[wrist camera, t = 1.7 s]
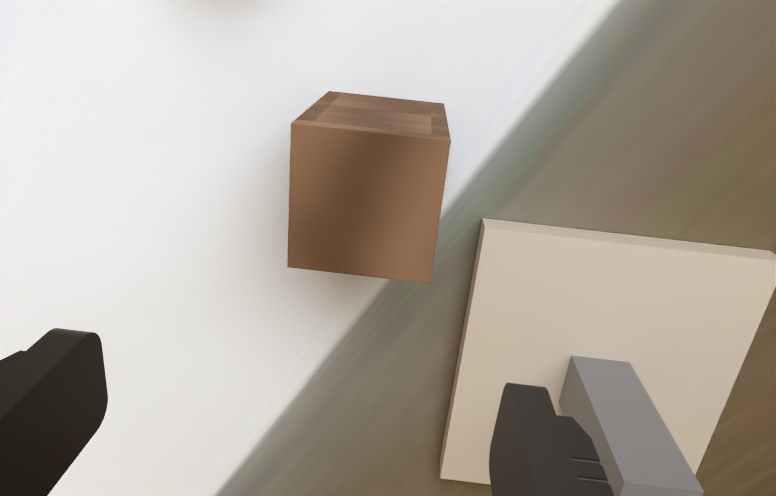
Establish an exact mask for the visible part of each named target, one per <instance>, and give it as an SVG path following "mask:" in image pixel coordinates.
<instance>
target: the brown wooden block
mask: <svg viewBox="0 0 776 496" xmlns="http://www.w3.org/2000/svg"><path fill="white" fill-rule="evenodd" d="M450 142H451V140H450V135H449V129H448V124H447V119H446V113H445V108H444V104H441V103H432V102H423V101H414V100H404V99H395V98H386V97H377V96H368V95H359V94H349V93H340V92H331V91H329V92H328V93H326V94H325V95H324V96H323V97H322V98H320V99H319V100H318V101H317V102H316V103H315V104H313V105H312V106H311V107H310V108H309V109H308V110H306V111H305V112H304V113H303V114H302V115H300V116H299V117H298V118H297V119H296V120H295V121H293V122H292V123H291V152H290V190H289V229H288V267H291V268H300V269H309V270H318V271H326V272H335V273H344V274H352V275H361V276H370V277H378V278H387V279H396V280H404V281H413V282H422V283H430V282H431V275H432V268H433V261H434V254H435V247H436V240H437V233H438V226H439V219H440V212H441V205H442V198H443V191H444V184H445V177H446V170H447V163H448V156H449V149H450Z"/></svg>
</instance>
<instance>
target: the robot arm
mask: <svg viewBox="0 0 776 496" xmlns="http://www.w3.org/2000/svg"><path fill="white" fill-rule="evenodd" d="M107 402H108V395H107V386H106V378H105V370H104V361H103V353H102V344H101V340H100V337H99V336H98V335H97V334H96V333H92V332H84V331H75V330H67V329H58V328H55V329H52V330H50V331H49V332H47V333H46V334H45V335H44V336H43V337H42V338H41V339H39V340H38V341H37V342H36V343H35V344H34V345H32V346H31V347H30V348H29V349H28V350H27V351H19V352H16V353H14V354H12V355H10V356H8V357H6V358H4V359H2V360H0V496H47V495H48V494H49V493H50V491H51V490H52V489H53V487H54V486H55V485H56V483H57V482H58V481H59V480H60V478H61V477H62V476H63V474H64V473H65V472H66V470H67V469H68V468H69V466H70V465H71V464H72V463H73V461H74V460H75V459H76V457H77V456H78V455H79V453H80V452H81V451H82V449H83V448H84V447H85V446H86V444H87V443H88V442H89V440H90V439H91V438H92V436H93V435H94V434H95V433H96V431H97V430H98V428H99V427H100V425H101V423H102V421H103V418H104V416H105V412H106V408H107ZM489 476H490V483H491V489H492V496H614V493H613V491H612V488H611V486H610V484H608V478H607V476H606V474H605V471H604V469H603V466H602V465H600V459H599V456H598V454H597V451H596V449H595V446H594V444H593V441H592V439H591V437H590V436H589V435H588V434H587V433H586V432H585V431H584V429H583V428H582V427H581V426H580V425H579V424H578V423H577V422H576V421H575V420H574V418H573V417H568V416H560V415H556V413H555V410H554V407H553V404H552V401H551V398H550V395H549V392H548V390H547V388H546V387H541V386H532V385H524V384H515V383H506V385H505V386H504V389H503V393H502V397H501V401H500V406H499V410H498V414H497V419H496V423H495V427H494V432H493V436H492V440H491V445H490V453H489Z"/></svg>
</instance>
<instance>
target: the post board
mask: <svg viewBox="0 0 776 496" xmlns="http://www.w3.org/2000/svg"><path fill="white" fill-rule="evenodd" d="M775 286H776V255H775V254H774V253H772V252H771V251H768V250H759V249H751V248H742V247H733V246H724V245H715V244H706V243H697V242H688V241H680V240H671V239H662V238H653V237H644V236H635V235H626V234H617V233H608V232H600V231H591V230H582V229H573V228H564V227H555V226H546V225H537V224H529V223H520V222H511V221H502V220H493V219H484V218H482V224H481V229H480V235H479V241H478V246H477V252H476V258H475V263H474V269H473V275H472V280H471V286H470V292H469V297H468V303H467V309H466V314H465V320H464V326H463V331H462V337H461V343H460V348H459V354H458V360H457V365H456V371H455V377H454V382H453V388H452V394H451V399H450V405H449V411H448V416H447V422H446V428H445V433H444V439H443V445H442V450H441V456H440V478H442V479H450V480H458V481H466V482H475V483H483V484H491V483H490V476H489V453H490V445H491V440H492V436H493V432H494V427H495V423H496V419H497V414H498V410H499V406H500V401H501V397H502V393H503V389H504V386H505V385H506V383H515V384H524V385H532V386H541V387H546V388H547V390H548V392H549V395H550V398H551V401H552V404H553V407H554V410H555V413H556V415H560V416H568V417H573V418H574V420H575V421H576V422H577V423H578V424H579V425H580V426H581V427H582V428H583V429H584V431H585V432H586V433H587V434H588V435H589V436H590V437H591V439H592V441H593V444H594V446H595V449H596V451H597V454H598V456H599V459H600V465H602V466H603V469H604V471H605V474H606V476H607V478H608V484H610V486H611V488H612V491H613V493H614V496H703V494H704V491H703V489H702V487H701V485H700V484H699V482H698V480H697V478H696V477H695V474H696V472H697V470H698V467H699V465H700V462H701V460H702V458H703V455H704V453H705V451H706V448H707V446H708V444H709V441H710V439H711V437H712V434H713V432H714V430H715V427H716V425H717V423H718V420H719V418H720V416H721V413H722V411H723V408H724V406H725V404H726V401H727V399H728V397H729V394H730V392H731V390H732V387H733V385H734V383H735V380H736V378H737V376H738V373H739V371H740V369H741V366H742V364H743V362H744V359H745V357H746V354H747V352H748V350H749V347H750V345H751V343H752V340H753V338H754V336H755V333H756V331H757V329H758V326H759V324H760V322H761V319H762V317H763V315H764V312H765V310H766V308H767V305H768V303H769V300H770V298H771V296H772V293H773V291H774V289H775Z"/></svg>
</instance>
